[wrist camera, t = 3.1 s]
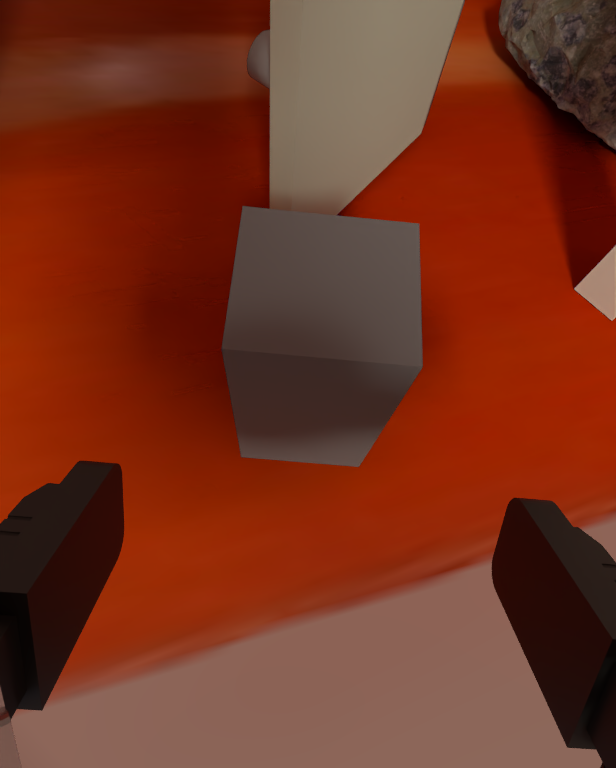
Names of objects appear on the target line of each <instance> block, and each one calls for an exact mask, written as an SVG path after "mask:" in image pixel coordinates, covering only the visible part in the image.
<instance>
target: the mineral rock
mask: <svg viewBox="0 0 616 768" xmlns="http://www.w3.org/2000/svg"><path fill="white" fill-rule="evenodd" d="M499 27H500V32H501V34H502V36H503V37H504V38H505V39H506V48H507V49H508V50H509V52H510V53H511V54H512V56H513V57H514V59H515V60H516V62H517V63H518V64H519V66H520V67H521V68H522V69H523V70H524V71H525V72H526V73H527V75H528V78H529V79H532V80H533V81H534V82H535V83H536V84H537V85H538V86H539V87H541V88H542V89H543V90H544V92H545V93H546V94H547V95H549V96H551V99H552V100H553V101H554V102H556V104H557V107H558V108H559V109H562V110H564V111H567V112H570V113H573V114H574V115H575V116H576V117H577V120H579V121H580V122H581V123H582V124H583V125H584V127H585V128H586V129H587V130H588V131H590V132H591V133H595V135H596V136H598V137H599V138H601V139H603V141H604V142H605V143H606V144H608V145H609V146H610V147H612V148H613V149H615V150H616V0H502V2H501V6H500V11H499Z"/></svg>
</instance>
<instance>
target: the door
mask: <svg viewBox="0 0 616 768" xmlns="http://www.w3.org/2000/svg"><path fill="white" fill-rule="evenodd" d="M464 2H465V0H270V30H265V31H263V32H261V33H260V34H259V35H258V36H257V37H256V39H255V40H254V42H253V43H252V46H251V48H250V50H249V54H248V58H247V70H248V73H249V75H250V77H252V78H253V79H255V80H256V81H258V82H259V83H261V84H263V85H264V86H266V87H267V88H269V89H270V209H277V210H287V211H297V212H307V213H317V214H327V215H337V214H338V213H339V212H340V211H341V210H342V209H343V208H344V207H345V206H346V205H347V204H349V203H350V202H351V201H352V200H353V199H354V198H355V197H356V196H357V195H358V194H359V193H360V192H361V191H362V190H363V189H364V188H365V187H366V186H367V185H368V184H369V183H370V182H371V181H372V180H373V179H374V178H375V177H376V176H378V175H379V174H380V173H381V172H382V171H383V170H384V169H385V168H386V167H387V166H388V165H389V164H390V163H391V162H392V161H393V160H394V159H395V158H396V157H397V156H398V155H399V154H400V153H401V152H402V151H403V150H404V149H405V148H406V147H408V146H409V145H410V144H411V143H412V142H413V141H414V140H415V139H416V138H417V137H418V136H419V135H420V134H421V132H422V129H423V126H424V125H425V123H426V120H427V117H428V113H429V110H430V107H431V104H432V101H433V98H434V95H435V92H436V89H437V86H438V83H439V79H440V76H441V73H442V70H443V67H444V64H445V61H446V58H447V55H448V52H449V48H450V45H451V42H452V39H453V36H454V33H455V30H456V27H457V24H458V21H459V18H460V14H461V11H462V8H463V5H464Z"/></svg>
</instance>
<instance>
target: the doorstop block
mask: <svg viewBox="0 0 616 768" xmlns="http://www.w3.org/2000/svg"><path fill="white" fill-rule="evenodd" d="M222 354H223V360H224V365H225V371H226V376H227V382H228V387H229V393H230V398H231V404H232V409H233V415H234V420H235V426H236V431H237V437H238V442H239V448H240V453H241V457H247V458H259V459H271V460H283V461H295V462H307V463H319V464H331V465H344V466H356V467H359V466H360V464H361V463H362V461H363V459H364V458H365V456H366V455H367V453H368V452H369V450H370V448H371V447H372V445H373V444H374V442H375V441H376V439H377V438H378V436H379V434H380V433H381V431H382V430H383V428H384V427H385V425H386V423H387V422H388V420H389V419H390V417H391V416H392V414H393V413H394V411H395V409H396V408H397V406H398V405H399V403H400V402H401V400H402V398H403V397H404V395H405V394H406V392H407V391H408V389H409V388H410V386H411V384H412V383H413V381H414V380H415V378H416V377H417V375H418V373H419V372H420V370H421V369H422V367H423V361H422V320H421V279H420V239H419V224H416V223H406V222H396V221H386V220H376V219H366V218H356V217H346V216H337V215H327V214H317V213H307V212H297V211H287V210H277V209H267V208H257V207H247V206H243V208H242V214H241V221H240V228H239V234H238V241H237V248H236V255H235V261H234V268H233V275H232V281H231V288H230V295H229V302H228V308H227V315H226V322H225V328H224V335H223V342H222Z"/></svg>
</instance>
